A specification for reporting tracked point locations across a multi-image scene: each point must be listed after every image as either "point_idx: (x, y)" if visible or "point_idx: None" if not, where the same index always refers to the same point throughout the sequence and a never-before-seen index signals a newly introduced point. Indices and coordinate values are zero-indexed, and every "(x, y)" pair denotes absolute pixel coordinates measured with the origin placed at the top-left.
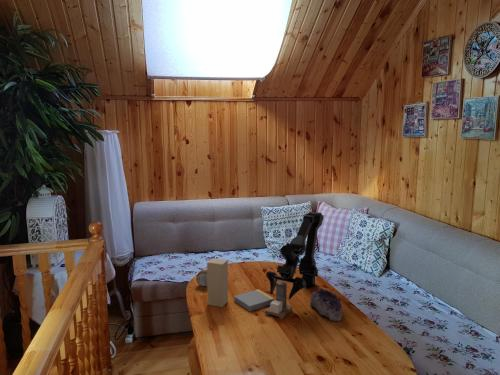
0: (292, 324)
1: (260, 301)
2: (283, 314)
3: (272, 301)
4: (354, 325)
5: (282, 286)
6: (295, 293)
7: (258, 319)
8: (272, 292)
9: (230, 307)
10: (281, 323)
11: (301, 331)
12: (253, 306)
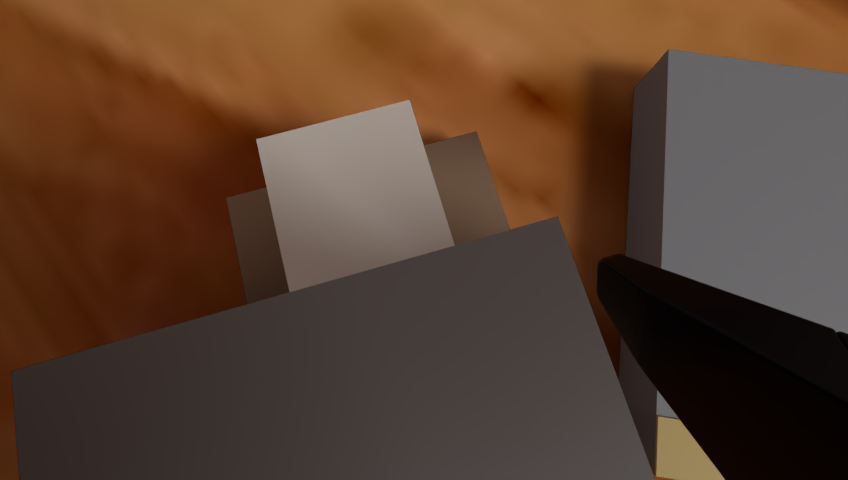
0: (98, 205)
1: (698, 242)
2: (236, 222)
3: (426, 168)
4: None
5: (128, 349)
6: None
7: (437, 39)
8: (632, 332)
9: (832, 14)
10: (205, 139)
11: None
12: (655, 113)
